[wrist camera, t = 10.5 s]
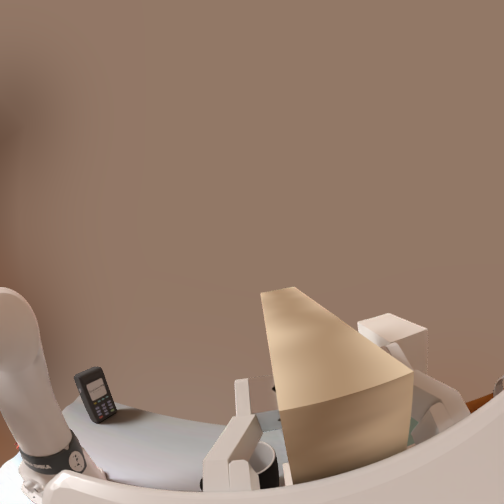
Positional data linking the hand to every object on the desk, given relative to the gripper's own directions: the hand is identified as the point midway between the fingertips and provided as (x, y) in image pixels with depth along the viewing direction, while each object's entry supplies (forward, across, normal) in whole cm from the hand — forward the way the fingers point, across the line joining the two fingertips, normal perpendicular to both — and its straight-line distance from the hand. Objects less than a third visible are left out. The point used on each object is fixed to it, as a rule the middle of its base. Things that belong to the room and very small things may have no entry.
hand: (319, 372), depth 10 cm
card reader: (+25, -51, -52) cm, 77 cm away
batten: (+5, 0, -5) cm, 7 cm away
